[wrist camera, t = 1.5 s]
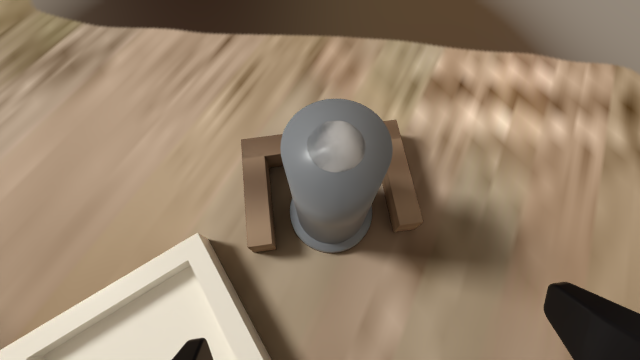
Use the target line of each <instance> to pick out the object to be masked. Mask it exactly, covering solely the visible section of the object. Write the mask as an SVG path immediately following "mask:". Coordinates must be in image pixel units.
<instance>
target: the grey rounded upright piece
mask: <svg viewBox="0 0 640 360" xmlns="http://www.w3.org/2000/svg"><path fill="white" fill-rule="evenodd" d="M280 149H281V157H282V162H283V165H284V169H285V172H286V176H287V180H288V183H289V187H290V191H291V194H292V201H291V205H290V218H291V222H292V225H293V228H294V230H295V232H296V234H297V235H298V237H299V238H300V239H301V240H302V241H303V242H304V243H305V244H306V245H307V246H309V247H311V248H312V249H315V250H317V251H320V252H325V253H338V252H342V251H345V250H348V249H350V248H352V247H354V246H355V245H356V244H358V243H359V242H360V241H361V240H362V238H363V237H364V236H365V234H366V232H367V231H368V229H369V226H370V224H371V220H372V202H373V200H374V198H375V196H376V194H377V192H378V190H379V188H380V185H381V183H382V181H383V179H384V177H385V175H386V173H387V171H388V168H389V166H390V163H391V159H392V152H393V147H392V140H391V136H390V133H389V131H388V129H387V127H386V125H385V124H384V122H383V121H382V119H381V118H380V117H379V116H378V115H377V114H376V113H374V112H373V111H372V110H371V109H369V108H367V107H366V106H364V105H362V104H360V103H357V102H354V101H350V100H345V99H326V100H321V101H318V102H315V103H312V104H310V105H308V106H306V107H304V108H303V109H301V110H300V111H299V112H297V113H296V114H295V115H294V116H293V117H292V118H291V120H290V121H289V122H288V124H287V126H286V128H285V129H284V132H283V135H282V139H281V147H280Z"/></svg>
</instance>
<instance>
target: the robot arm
mask: <svg viewBox="0 0 640 360" xmlns="http://www.w3.org/2000/svg"><path fill="white" fill-rule="evenodd" d="M544 312H545V315H546V317H547V319H548V320H549V322H550V323H551V325H552V326H553V328H554V330H555V331H556V333H557V334H558V336H559V337H560V339H561V340H562V342H563V344H564V345H565V347H566V348H567V350H568V351H569V353H570V355H571V356H572V358H573V359H574V360H640V314H639V313H637V312H634V311H632V310H630V309H628V308H625V307H623V306H621V305H619V304H616V303H614V302H612V301H610V300H607V299H605V298H603V297H600V296H598V295H596V294H594V293H591V292H589V291H587V290H585V289H582V288H580V287H578V286H576V285H573V284H571V283H568V282H560V283H553V284H550V285H549V287H548V290H547V294H546V298H545V303H544ZM172 360H213V357H212V354H211V351H210V348H209V345H208V343H207V340H206V339H205V338H197V339H190V340H188V341H187V342H186V343H185V344H184V345H183V347H182V348H181V349H180V350H179V351H178V353H177V354H176V355H175V356H174V357H173V359H172Z"/></svg>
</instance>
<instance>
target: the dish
mask: <svg viewBox="0 0 640 360" xmlns="http://www.w3.org/2000/svg"><path fill="white" fill-rule="evenodd" d="M197 338H205V339H206V340H207V343H208V345H209V348H210V351H211V354H212V357H213V360H271V358H270V356H269V354H268V352H267V350H266V348H265V346H264V344H263V342H262V341H261V339H260V337H259V335H258V333H257V331H256V329H255V327H254V325H253V323H252V322H251V320H250V318H249V316H248V314H247V312H246V310H245V308H244V306H243V304H242V303H241V301H240V299H239V297H238V295H237V293H236V291H235V289H234V287H233V285H232V283H231V282H230V280H229V278H228V276H227V274H226V272H225V270H224V268H223V266H222V264H221V263H220V261H219V259H218V257H217V255H216V253H215V251H214V249H213V247H212V245H211V243H210V242H209V240H208V239H207V238H206V237H204V236H202V235H201V234H199V233H196V234H195V235H193V236H191V237H189V238H188V239H186V240H184V241H183V242H181V243H179V244H178V245H176V246H174V247H173V248H171V249H169V250H168V251H166V252H164V253H163V254H161V255H159V256H158V257H156V258H154V259H152V260H151V261H149V262H147V263H146V264H144V265H142V266H141V267H139V268H137V269H136V270H134V271H132V272H131V273H129V274H127V275H126V276H124V277H122V278H121V279H119V280H117V281H116V282H114V283H112V284H110V285H109V286H107V287H105V288H104V289H102V290H100V291H99V292H97V293H95V294H94V295H92V296H90V297H89V298H87V299H85V300H84V301H82V302H80V303H79V304H77V305H75V306H73V307H72V308H70V309H68V310H67V311H65V312H63V313H62V314H60V315H58V316H57V317H55V318H53V319H52V320H50V321H48V322H47V323H45V324H43V325H42V326H40V327H38V328H37V329H35V330H33V331H31V332H30V333H28V334H26V335H25V336H23V337H21V338H20V339H18V340H16V341H15V342H13V343H11V344H10V345H8V346H6V347H5V348H3V349H1V350H0V360H172V359H173V357H174V356H175V355H176V354H177V353H178V351H179V350H180V349H181V348H182V347H183V345H184V344H185V343H186V342H187V341H188V340H190V339H197Z"/></svg>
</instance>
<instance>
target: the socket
mask: <svg viewBox="0 0 640 360" xmlns="http://www.w3.org/2000/svg"><path fill="white" fill-rule="evenodd" d="M383 122H384V124H385V125H386V127H387V129H388V131H389V133H390V136H391V140H392V147H393V152H392V159H391V163H390V166H389V168H388V171H387V173H386V175H385V177H384V179H383V181H382V184H383V189H384V193H385V197H386V202H387V206H388V211H389V215H390V219H391V224H392V228H393V232H399V231H406V230H413V229H416V228H417V227H418V226H419V225H420V224H422V223H423V218H422V214H421V211H420V207H419V203H418V199H417V196H416V192H415V188H414V184H413V181H412V177H411V173H410V169H409V166H408V162H407V158H406V154H405V151H404V147H403V143H402V139H401V136H400V132H399V128H398V125H397V121H396V120H390V121H383ZM282 135H283V134H281V135H273V136H265V137H258V138H250V139H242V140H241V147H242V164H243V180H244V197H245V214H246V231H247V247H248V248H249V249H250V250H252V251H253V252H260V251H267V250H274V249H276V240H275V229H274V218H273V207H272V196H271V186H270V175H269V168H272V167H280V166H284V165H283V162H282V157H281V149H280V147H281V139H282Z"/></svg>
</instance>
